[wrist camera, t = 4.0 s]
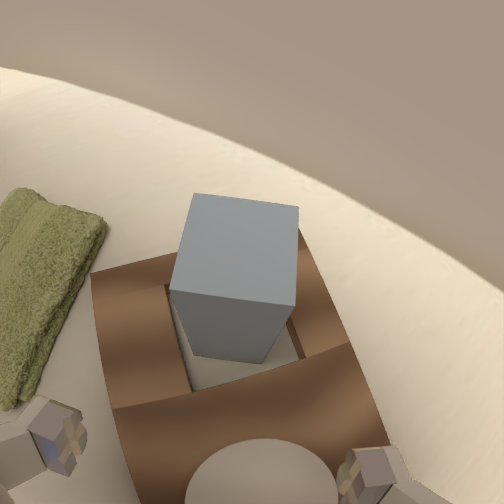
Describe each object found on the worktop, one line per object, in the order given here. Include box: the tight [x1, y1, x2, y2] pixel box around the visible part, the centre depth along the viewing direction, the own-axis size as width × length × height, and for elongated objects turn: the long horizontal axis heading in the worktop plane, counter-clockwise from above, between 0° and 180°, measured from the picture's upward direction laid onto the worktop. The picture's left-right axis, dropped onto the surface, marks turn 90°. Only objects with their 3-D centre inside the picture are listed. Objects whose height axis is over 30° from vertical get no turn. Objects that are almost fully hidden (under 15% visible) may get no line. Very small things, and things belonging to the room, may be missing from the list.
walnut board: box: [90, 228, 391, 504], centre depth 18 cm, size 24×16×2 cm, turn 18°
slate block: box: [169, 193, 299, 364], centre depth 17 cm, size 4×4×11 cm
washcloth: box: [0, 188, 107, 411], centre depth 20 cm, size 13×18×3 cm
